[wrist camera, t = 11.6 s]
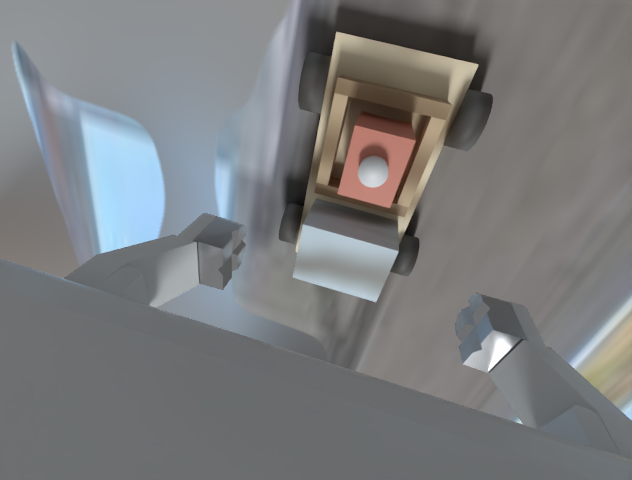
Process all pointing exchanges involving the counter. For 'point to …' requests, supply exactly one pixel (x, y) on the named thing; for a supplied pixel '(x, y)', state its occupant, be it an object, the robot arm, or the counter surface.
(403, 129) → the block
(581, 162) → the counter surface
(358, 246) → the chassis
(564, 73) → the counter surface
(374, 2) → the counter surface
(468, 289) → the counter surface
